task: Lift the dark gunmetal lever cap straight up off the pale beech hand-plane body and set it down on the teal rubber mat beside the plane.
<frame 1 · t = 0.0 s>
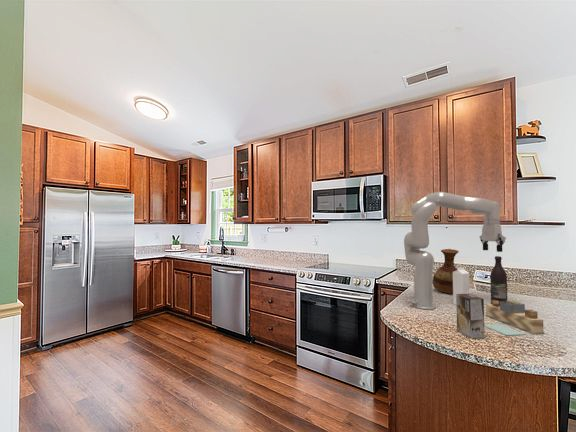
hand: (492, 251, 167), 31 cm above the worktop, fingers open, 9 cm apart
plane body: (512, 324, 132), on the worktop
brown ceramic vase: (448, 292, 195), on the worktop
lever cap: (512, 311, 132), point 6 cm above the worktop, touching plane body
coffee box: (470, 334, 120), on the worktop
wine bottle: (499, 313, 148), on the worktop
milk: (461, 305, 164), on the worktop
mat: (503, 330, 124), on the worktop
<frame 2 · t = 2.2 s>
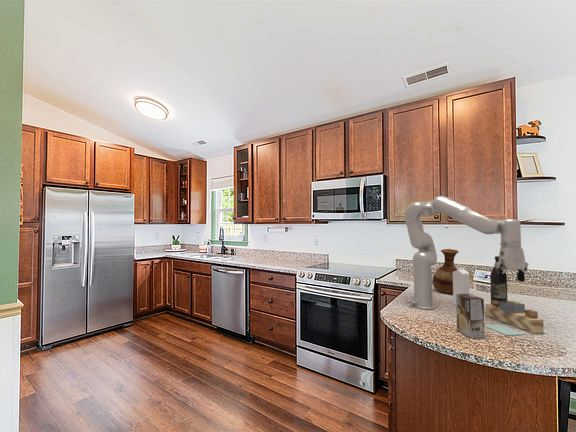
hand: (511, 281, 132), 20 cm above the worktop, fingers open, 9 cm apart
nothing on the worktop moved.
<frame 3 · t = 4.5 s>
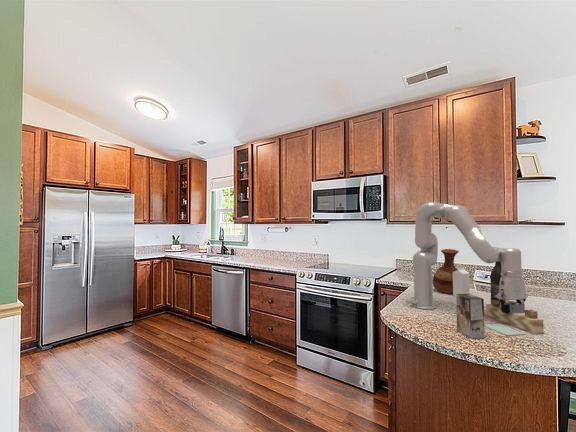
hand: (512, 312, 132), 6 cm above the worktop, fingers closed on lever cap, 7 cm apart
lever cap: (512, 311, 132), point 6 cm above the worktop, touching gripper, plane body
everything else where it was.
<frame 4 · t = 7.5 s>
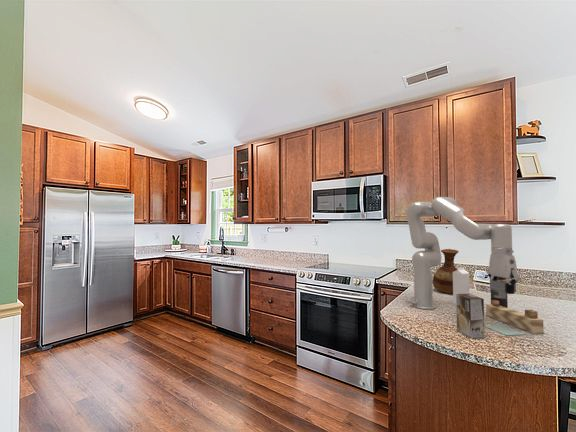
hand: (502, 291, 125), 17 cm above the worktop, fingers closed on lever cap, 7 cm apart
lever cap: (502, 290, 125), point 17 cm above the worktop, touching gripper
everything else where it was.
when the fingers open (1 cm above the worktop, at t = 10.6 s): lever cap drops 1 cm, resting on mat.
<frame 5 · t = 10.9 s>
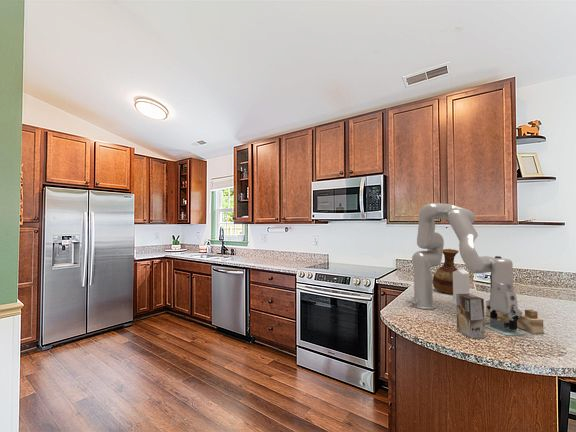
hand: (503, 325, 124), 2 cm above the worktop, fingers open, 9 cm apart
lever cap: (502, 329, 125), resting on mat
everything else where it was.
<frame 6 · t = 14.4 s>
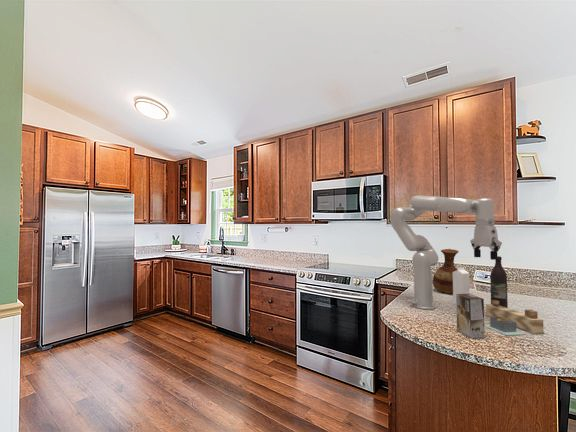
hand: (485, 258, 138), 30 cm above the worktop, fingers open, 9 cm apart
nothing on the worktop moved.
at the end: lever cap 0.1 cm from the mat (horizontally); lever cap resting on mat; lever cap tilted 0° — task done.
